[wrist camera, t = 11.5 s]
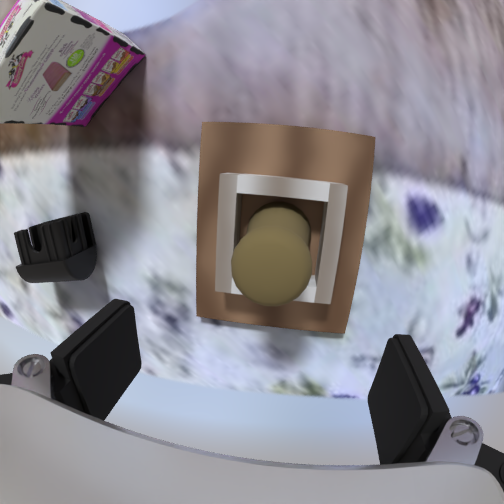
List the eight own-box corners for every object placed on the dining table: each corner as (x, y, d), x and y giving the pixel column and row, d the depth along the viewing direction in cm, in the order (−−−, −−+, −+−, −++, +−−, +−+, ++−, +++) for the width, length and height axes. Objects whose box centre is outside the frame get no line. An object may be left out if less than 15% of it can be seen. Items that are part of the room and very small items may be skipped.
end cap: (54, 272, 35) (22, 290, 29) (41, 222, 33) (6, 235, 27) (105, 267, 33) (71, 288, 27) (92, 210, 32) (54, 222, 25)
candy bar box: (125, 34, 25) (28, -18, 9) (148, 54, 25) (46, -1, 10) (66, 105, 28) (-40, 96, 13) (85, 129, 29) (-29, 127, 13)
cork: (322, 247, 28) (336, 297, 17) (265, 274, 29) (249, 334, 19) (293, 189, 27) (292, 206, 16) (235, 219, 28) (200, 253, 18)
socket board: (372, 138, 25) (384, 134, 21) (343, 327, 31) (348, 349, 27) (205, 123, 27) (191, 117, 23) (199, 311, 33) (187, 330, 29)
